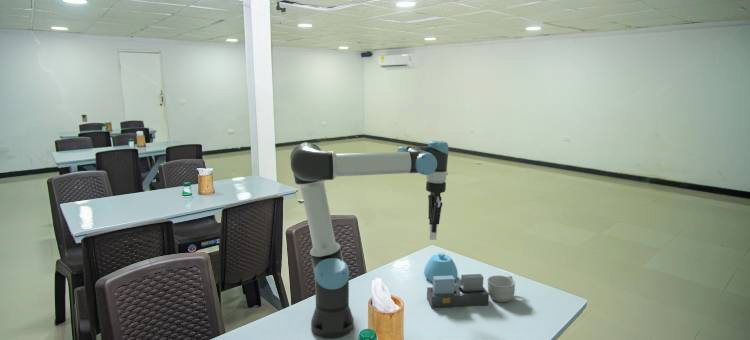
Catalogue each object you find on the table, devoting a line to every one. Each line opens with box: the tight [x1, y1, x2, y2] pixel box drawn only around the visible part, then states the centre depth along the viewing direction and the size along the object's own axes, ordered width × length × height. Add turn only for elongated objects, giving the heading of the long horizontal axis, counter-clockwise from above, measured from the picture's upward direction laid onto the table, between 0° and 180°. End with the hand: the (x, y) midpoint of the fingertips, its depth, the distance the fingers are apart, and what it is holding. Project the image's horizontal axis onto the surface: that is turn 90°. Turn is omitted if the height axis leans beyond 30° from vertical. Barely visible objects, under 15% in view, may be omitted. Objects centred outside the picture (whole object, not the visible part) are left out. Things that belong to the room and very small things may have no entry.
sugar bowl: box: [423, 252, 459, 283], centre depth 185 cm, size 15×15×12 cm
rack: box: [426, 273, 490, 309], centre depth 163 cm, size 23×8×11 cm, turn 97°
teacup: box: [487, 275, 516, 303], centre depth 168 cm, size 14×11×8 cm
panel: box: [432, 276, 456, 295], centre depth 162 cm, size 8×3×10 cm, turn 97°
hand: (432, 239), depth 162 cm, fingers closed
